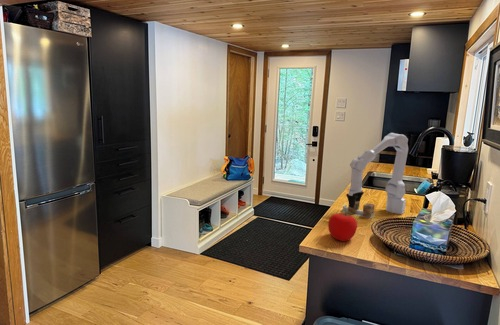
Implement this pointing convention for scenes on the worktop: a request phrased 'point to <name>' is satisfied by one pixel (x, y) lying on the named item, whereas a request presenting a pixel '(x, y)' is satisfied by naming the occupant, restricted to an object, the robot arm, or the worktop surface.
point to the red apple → (342, 226)
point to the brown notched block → (353, 210)
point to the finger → (368, 210)
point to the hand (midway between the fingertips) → (354, 205)
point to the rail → (358, 212)
